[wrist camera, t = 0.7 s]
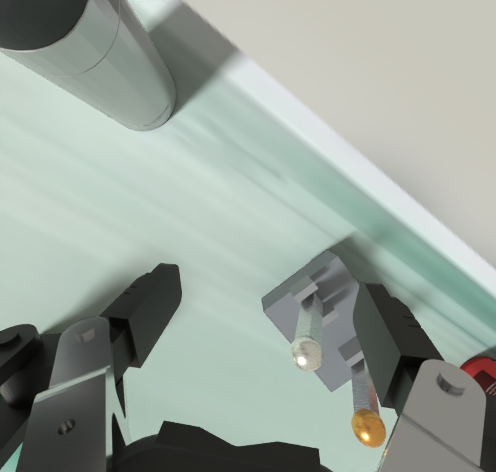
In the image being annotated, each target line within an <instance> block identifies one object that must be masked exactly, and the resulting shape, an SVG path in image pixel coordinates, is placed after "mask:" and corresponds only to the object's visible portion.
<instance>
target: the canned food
mask: <svg viewBox="0 0 496 472" xmlns="http://www.w3.org/2000/svg"><path fill="white" fill-rule="evenodd" d="M460 369H462V370H463V371H465V372H466V373H467V374H469V375H470V376H471V377H472V378H473V379H474V380H475V381H476V382H477V383H478V384H479V385H480V387H481V388H482V389H483V391H484V392H486V393H488V394H491V395H494V396H496V360H494V359H491V358H488V357H478V358H474V359H471V360H469V361H467V362H466V363H465V364H463V365H462V366H461V368H460Z"/></svg>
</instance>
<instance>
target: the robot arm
mask: <svg viewBox="0 0 496 472" xmlns="http://www.w3.org/2000/svg"><path fill="white" fill-rule="evenodd" d="M0 52H2V53H4V54H5V55H7V56H9V57H10V58H12V59H14V60H15V61H17V62H19V63H20V64H22V65H24V66H25V67H27V68H29V69H31V70H32V71H34V72H36V73H37V74H39V75H41V76H42V77H44V78H46V79H47V80H49V81H51V82H52V83H54V84H56V85H57V86H59V87H61V88H62V89H64V90H66V91H67V92H69V93H71V94H72V95H74V96H76V97H77V98H79V99H80V100H82V101H84V102H85V103H87V104H89V105H90V106H92V107H94V108H95V109H97V110H99V111H100V112H102V113H104V114H105V115H107V116H108V117H110V118H112V119H113V120H115V121H117V122H118V123H120V124H122V125H124V126H125V127H127V128H129V129H133V130H136V131H148V130H152V129H155V128H157V127H159V126H161V125H162V124H163V123H165V121H166V120H167V119H168V118H169V117H170V115H171V113H172V112H173V109H174V106H175V102H176V88H175V84H174V80H173V78H172V76H171V74H170V72H169V70H168V69H167V67H166V65H165V63H164V62H163V60H162V58H161V56H160V55H159V53H158V51H157V49H156V48H155V46H154V44H153V43H152V41H151V39H150V38H149V36H148V34H147V32H146V31H145V29H144V27H143V26H142V24H141V22H140V20H139V19H138V17H137V15H136V14H135V12H134V10H133V9H132V7H131V5H130V3H129V2H128V0H0ZM181 297H182V290H181V281H180V273H179V267H178V265H176V264H165V263H160V264H159V265H158V266H157V267H156V268H155V269H154V270H153V271H152V272H151V273H146V274H145V275H143V276H141V277H139V278H137V279H136V280H135V281H134V282H133V283H132V284H131V285H130V287H129V288H127V289H126V290H125V291H124V292H123V294H121V295H120V296H119V297H118V298H117V299H116V300H115V301H114V302H113V303H112V304H111V305H110V306H109V307H108V308H107V309H106V310H105V311H104V312H103V313H102V314H101V315H100V316H96V317H89V318H85V319H82V320H80V321H78V322H76V323H74V324H72V325H71V326H69V327H68V328H67V329H66V330H65V331H64V332H63V333H59V334H51V335H44V336H40V335H39V333H38V331H37V329H36V327H35V326H33V325H30V324H22V325H16V326H13V327H10V328H7V329H5V330H2V331H0V392H1V394H2V396H3V397H4V398H3V399H2V400H1V401H0V469H1V468H2V467H3V466H4V464H5V463H6V462H7V461H8V459H9V458H10V457H11V456H12V454H13V453H14V452H15V451H16V449H17V448H18V447H19V446H20V444H21V443H22V442H23V445H22V449H21V452H20V456H19V460H18V464H17V468H16V472H332V471H331V470H330V469H328V468H327V467H325V466H323V465H321V464H320V457H319V449H317V448H311V447H306V446H300V445H295V444H289V443H284V442H270V443H263V444H255V445H247V446H234V445H231V444H230V443H228V442H226V441H224V440H222V439H220V438H219V437H217V436H215V435H213V434H211V433H209V432H208V431H206V430H204V429H202V428H200V427H196V426H191V425H185V424H180V423H174V422H169V421H164V422H163V424H162V426H161V429H160V431H159V433H158V434H155V435H151V436H148V437H144V438H142V439H139V440H137V441H134V442H133V443H132V440H131V435H130V430H129V421H128V409H127V396H126V384H125V376H124V373H125V371H126V370H127V368H128V367H136V368H141V367H142V365H143V363H144V362H145V360H146V358H147V357H148V355H149V354H150V352H151V350H152V349H153V347H154V345H155V344H156V342H157V341H158V339H159V337H160V336H161V334H162V333H163V331H164V329H165V328H166V326H167V324H168V323H169V321H170V320H171V318H172V316H173V315H174V313H175V311H176V310H177V308H178V307H179V305H180V302H181ZM353 325H354V329H355V332H356V335H357V337H358V340H359V343H360V346H361V349H362V352H363V355H364V358H365V361H366V364H367V367H368V370H369V372H370V375H371V378H372V381H373V384H374V387H375V390H376V393H377V396H378V399H379V402H380V405H381V407H386V408H393V409H395V411H396V413H397V416H398V419H397V421H396V423H395V426H394V428H393V430H392V433H391V435H390V438H389V440H388V443H387V445H386V448H385V450H384V452H383V455H382V457H381V460H380V462H379V465H378V467H377V470H376V472H496V396H494V395H491V394H488V393H486V392H484V391H483V389H482V388H481V387H480V385H479V384H478V383H477V382H476V381H475V380H474V379H473V378H472V377H471V376H470V375H469V374H467V373H466V372H465V371H463V370H462V369H460V368H458V367H456V366H455V365H452V364H450V363H448V362H445V360H444V359H443V358H442V356H441V355H440V353H439V352H438V350H437V349H436V347H435V346H434V345H433V343H432V342H431V340H430V339H429V337H428V336H427V334H426V333H425V331H424V330H423V329H422V328H421V326H420V324H419V323H418V321H417V320H416V319H415V317H414V315H413V314H412V313H411V311H410V310H409V308H408V307H407V306H406V305H405V304H403V303H402V302H401V301H400V300H398V299H397V298H393V297H390V295H389V294H388V292H387V290H386V289H385V287H384V286H383V285H382V284H376V283H365V282H362V283H361V284H360V286H359V290H358V294H357V298H356V302H355V306H354V310H353Z"/></svg>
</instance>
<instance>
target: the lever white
mask: <svg viewBox="0 0 496 472" xmlns="http://www.w3.org/2000/svg"><path fill="white" fill-rule="evenodd" d="M323 308H324V303H323V301H322V300H321V299H320V298H319V296H318V295H317V294H316V293H315V291H314V292H313V293H312V294H310V295H309V296H308V297H306V298H305V299H304V300H302V301H301V307H300V312H299V318H298V323H297V328H296V334H295V339H294V341H293V342H292V344H291V347H290V357H291V360H292V362H293V363H294V365H295V366H296V367H297V368H299V369H300V370H302V371H306V372H311V371H314V370H316V369H318V368H319V367H320V365H321V364H322V361H323V356H324V355H323V349H322V346H321V338H322V322H323Z"/></svg>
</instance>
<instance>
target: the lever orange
mask: <svg viewBox="0 0 496 472" xmlns="http://www.w3.org/2000/svg"><path fill="white" fill-rule="evenodd" d="M351 373H352V387H353V402H354V414H353V417H352V429H353V432H354V434H355V436H356V437H357V439H358V440H359V441H360V442H361V443H362V444H364V445H365V446H368V447H371V448H376V447H379V446H381V445H382V444H383V443H384V441H385V438H386V429H385V425H384V423H383V421H382V419H381V418H380V416H379V409H378V403H377V396H376V390H375V387H374V384H373V381H372V378H371V375H370V372H369V370H368V367H367V364H366V361H365V358H363V359H361V360H360V361H358V362H357V363H356V364H354V365H353V366H351Z"/></svg>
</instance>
